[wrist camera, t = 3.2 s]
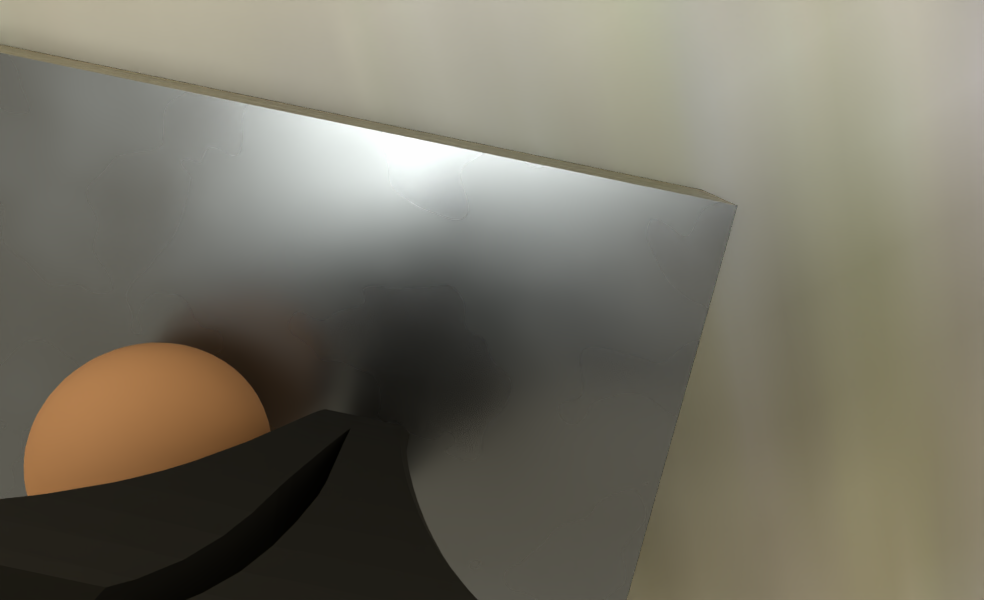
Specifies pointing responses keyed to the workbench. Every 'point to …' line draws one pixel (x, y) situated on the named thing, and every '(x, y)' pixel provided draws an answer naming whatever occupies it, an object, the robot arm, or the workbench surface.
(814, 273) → the workbench surface
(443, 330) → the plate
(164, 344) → the ball
